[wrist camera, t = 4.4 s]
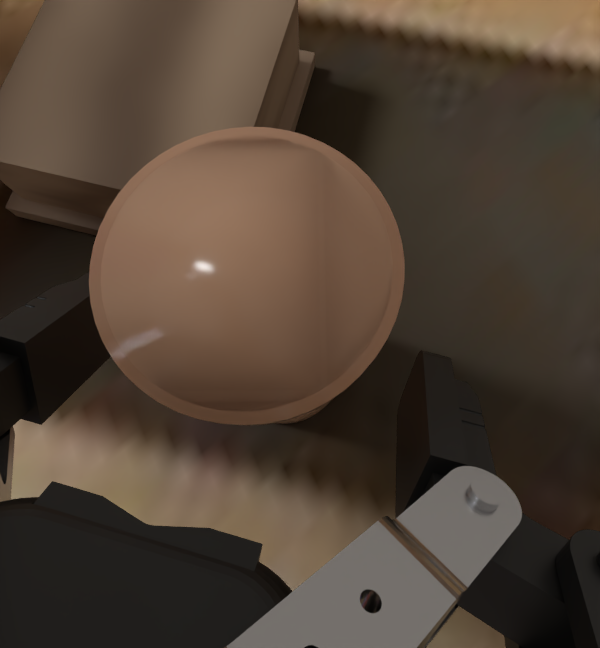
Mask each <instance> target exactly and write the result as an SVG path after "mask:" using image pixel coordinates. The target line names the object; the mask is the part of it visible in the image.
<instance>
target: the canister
mask: <svg viewBox="0 0 600 648" xmlns="http://www.w3.org/2000/svg"><path fill="white" fill-rule="evenodd" d="M404 274H405V261H404V253H403V246H402V240H401V237H400V233H399V230H398V226H397V223H396V221H395V218H394V216H393V214H392V211H391V209H390V207H389V205H388V203H387V202H386V200H385V198H384V197H383V195H382V193H381V192H380V190H379V189H378V188H377V186H376V185H375V184H374V183H373V181H372V180H371V179H370V178H369V176H368V175H367V174H366V173H365V172H363V171H362V170H361V169H360V168H359V167H358V166H357V165H356V164H355V163H354V162H353V161H351V160H350V159H349V158H347V157H346V156H344V155H343V154H342V153H340V152H339V151H337V150H335V149H334V148H332V147H330V146H328V145H326V144H325V143H323V142H321V141H318V140H316V139H313V138H311V137H308V136H306V135H302V134H299V133H295V132H292V131H288V130H282V129H276V128H269V127H239V128H229V129H224V130H218V131H213V132H209V133H206V134H203V135H200V136H196V137H193V138H191V139H189V140H187V141H184V142H182V143H180V144H177V145H175V146H174V147H172V148H170V149H168V150H167V151H165V152H163V153H162V154H160V155H158V156H157V157H156V158H154V159H153V160H152V161H150V162H149V163H148V164H146V165H145V166H144V167H143V168H142V169H141V170H140V171H139V172H137V173H136V174H135V175H134V176H133V177H132V178H131V179H130V180H129V181H128V183H127V184H126V185H125V186H124V187H123V189H122V190H121V191H120V192H119V193H118V195H117V196H116V198H115V200H114V201H113V203H112V204H111V206H110V207H109V209H108V211H107V213H106V215H105V217H104V219H103V221H102V223H101V225H100V227H99V230H98V233H97V236H96V239H95V242H94V245H93V250H92V256H91V261H90V271H89V292H90V303H91V308H92V312H93V316H94V320H95V324H96V326H97V329H98V331H99V334H100V337H101V339H102V342H103V343H104V345H105V347H106V349H107V350H108V352H109V354H110V356H111V357H112V359H113V360H114V362H115V363H116V364H117V365H118V367H119V368H120V369H121V371H122V372H123V373H124V374H125V376H127V377H128V378H129V379H130V380H131V381H132V382H133V383H134V384H135V385H136V386H137V387H138V388H139V389H140V390H142V391H143V392H144V393H146V394H147V395H149V396H150V397H151V398H153V399H154V400H156V401H157V402H159V403H161V404H163V405H164V406H166V407H168V408H170V409H172V410H174V411H176V412H179V413H181V414H184V415H187V416H190V417H193V418H196V419H199V420H204V421H209V422H214V423H219V424H231V425H247V426H250V425H264V424H272V423H279V424H287V423H295V422H299V421H302V420H305V419H308V418H310V417H312V416H314V415H315V414H317V413H318V412H319V411H321V410H322V409H323V408H324V407H325V406H326V405H327V404H328V403H329V402H330V401H331V400H332V399H334V398H335V397H337V396H338V395H340V394H341V393H343V392H344V391H345V390H346V389H347V388H348V387H349V386H350V385H351V384H352V383H354V382H355V381H356V380H357V379H358V378H359V377H360V375H361V374H362V373H363V372H364V371H365V370H366V368H367V367H368V366H369V365H370V364H371V362H372V361H373V360H374V359H375V358H376V356H377V355H378V353H379V351H380V350H381V348H382V347H383V345H384V344H385V342H386V340H387V339H388V336H389V334H390V332H391V330H392V328H393V325H394V323H395V321H396V318H397V314H398V311H399V308H400V304H401V301H402V294H403V287H404Z"/></svg>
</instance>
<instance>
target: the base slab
mask: <svg viewBox="0 0 600 648" xmlns="http://www.w3.org/2000/svg"><path fill="white" fill-rule="evenodd" d="M314 67H315V53H313V52H308V51H303V50H299V24H298V0H45V1H44V3H43V5H42V7H41V9H40V11H39V13H38V15H37V17H36V19H35V21H34V23H33V25H32V27H31V29H30V31H29V33H28V35H27V37H26V39H25V41H24V43H23V45H22V47H21V49H20V51H19V53H18V55H17V57H16V59H15V61H14V63H13V65H12V67H11V69H10V71H9V73H8V75H7V77H6V79H5V81H4V83H3V85H2V87H1V89H0V180H1V181H2V182H3V183H4V184H5V185H7V186H8V187H9V188H10V189H12V190H13V191H12V194H11V196H10V198H9V200H8V202H7V204H6V207H5V208H6V209H8V210H9V211H10V212H12V213H13V214H14V215H16V216H18V217H22V218H26V219H30V220H34V221H38V222H42V223H46V224H50V225H55V226H59V227H63V228H67V229H71V230H75V231H79V232H83V233H87V234H91V235H96V236H97V233H98V230H99V227H100V225H101V223H102V221H103V219H104V217H105V215H106V213H107V211H108V209H109V207H110V206H111V204H112V203H113V201H114V200H115V198H116V196H117V195H118V193H119V192H120V191H121V190H122V189H123V187H124V186H125V185H126V184H127V183H128V181H129V180H130V179H131V178H132V177H133V176H134V175H135V174H136V173H137V172H139V171H140V170H141V169H142V168H143V167H144V166H145V165H146V164H148V163H149V162H150V161H152V160H153V159H154V158H156V157H157V156H158V155H160V154H162V153H163V152H165V151H167V150H168V149H170V148H172V147H174V146H175V145H177V144H180V143H182V142H184V141H187V140H189V139H191V138H193V137H196V136H200V135H203V134H206V133H209V132H213V131H218V130H224V129H229V128H239V127H269V128H276V129H282V130H288V131H292V132H295V129H296V126H297V123H298V119H299V116H300V113H301V109H302V106H303V103H304V100H305V96H306V93H307V90H308V87H309V83H310V80H311V77H312V74H313V70H314Z"/></svg>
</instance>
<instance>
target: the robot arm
mask: <svg viewBox="0 0 600 648" xmlns="http://www.w3.org/2000/svg"><path fill="white" fill-rule="evenodd" d="M109 357H110V354H109V352H108V350H107V349H106V347H105V345H104V343H103V342H102V339H101V337H100V334H99V331H98V329H97V326H96V324H95V320H94V316H93V312H92V308H91V303H90V292H89V272H87V273H86V274H84V275H83V276H81V277H80V278H78V279H77V280H75V281H74V280H73V281H70V282H66V283H63V284H60V285H57V286H54V287H52V288H50V289H48V290H47V291H45V292H44V293H42V294H41V295H39V296H38V298H34V299H33V300H31V301H29V302H28V303H26V305H25V306H21V307H20V308H18V309H17V310H15V311H13V312H12V313H10V314H9V315H7V316H5V317H4V318H2V319H1V320H0V648H426V647H427V646H428V645H429V644H430V642H431V641H432V640H433V638H434V637H435V636H436V635H437V633H438V632H439V631H440V630H441V628H442V627H443V626H444V625H445V623H446V622H447V621H448V620H449V618H450V617H451V616H452V615H453V613H454V612H455V611H456V610H457V608H458V607H459V606H460V607H462V608H463V609H465V610H466V611H468V612H469V613H471V614H472V615H474V616H475V617H477V618H478V619H480V620H481V621H483V622H485V623H486V624H488V625H489V626H491V627H492V628H494V629H495V630H497V631H498V632H500V633H501V634H503V635H504V637H505V645H506V648H600V531H596V530H581V531H578V532H577V533H575V534H574V535H573V536H572V537H571V539H570V540H568V539H566V538H564V537H562V536H561V535H559V534H557V533H555V532H553V531H551V530H550V529H548V528H546V527H544V526H542V525H540V524H539V523H537V522H535V521H533V520H532V519H530V518H529V517H527V516H526V515H524V514H523V513H522V510H521V505H520V503H519V501H518V499H517V497H516V495H515V494H514V492H513V491H512V490H511V489H510V488H509V486H508V485H507V484H506V483H504V482H503V481H502V480H501V479H500V478H498V477H497V476H496V472H495V468H494V463H493V459H492V455H491V450H490V446H489V442H488V437H487V433H486V430H485V429H484V428H485V424H484V420H483V416H481V415H482V411H481V407H480V403H479V398H478V397H477V395H476V394H475V393H474V391H473V390H472V388H471V387H470V386H469V384H468V383H467V382H464V381H460V380H456V379H454V373H453V367H452V361H451V358H449V357H445V356H441V355H437V354H433V353H429V352H425V351H420V352H419V354H418V356H417V358H416V361H415V363H414V366H413V368H412V371H411V374H410V376H409V379H408V381H407V384H406V387H405V389H404V392H403V394H402V397H401V400H400V404H399V408H398V414H397V453H396V518H395V519H394V520H391V519H390V518H389V517H388V516H386V517H383V518H381V519H380V520H378V521H377V522H376V523H374V524H373V525H372V526H371V527H370V528H368V529H367V530H366V531H365V532H364V533H362V534H361V535H360V536H359V537H358V538H356V539H355V540H354V541H353V542H352V543H350V544H349V545H348V546H347V547H346V548H344V549H343V550H342V551H341V552H340V553H338V554H337V555H336V556H335V557H334V558H332V559H331V560H330V561H329V562H328V563H326V564H325V565H324V566H323V567H322V568H320V569H319V570H318V571H317V572H316V573H314V574H313V575H312V576H311V577H310V578H308V579H307V580H306V581H305V582H304V583H302V584H301V585H300V586H299V587H298V588H296V589H295V590H294V591H293V592H292V590H291V589H290V588H289V587H288V586H287V585H286V583H285V582H284V581H283V580H282V579H281V578H280V577H279V576H278V575H276V574H275V573H274V572H273V571H272V570H270V569H269V568H268V567H266V566H265V565H263V564H262V563H260V562H259V558H260V553H261V549H262V544H261V543H257V542H254V541H251V540H247V539H244V538H241V537H237V536H234V535H231V534H227V533H224V532H221V531H217V530H214V529H210V528H195V527H171V526H152V525H148V524H145V523H143V522H142V521H140V520H138V519H137V518H135V517H134V516H132V515H131V514H129V513H128V512H126V511H125V510H123V509H121V508H120V507H118V506H117V505H115V504H114V503H112V502H111V501H109V500H108V499H106V498H104V497H103V496H100V495H97V494H93V493H90V492H87V491H83V490H80V489H77V488H73V487H70V486H67V485H63V484H60V483H57V482H53V481H52V482H51V484H50V485H49V486H48V487H47V488H46V489H45V491H44V492H43V493H42V494H41V495H40V497H32V498H19V499H13V500H11V489H12V473H13V456H14V440H15V432H14V428H13V425H14V424H15V423H16V422H17V421H19V420H20V419H24V420H27V421H30V422H34V423H37V424H41V425H42V424H43V423H44V422H45V421H46V420H47V419H48V418H49V417H50V416H51V415H52V414H53V413H54V412H55V411H56V410H57V409H58V408H59V407H60V406H61V405H62V404H63V403H64V402H65V401H66V400H67V399H68V398H69V397H70V396H71V395H72V394H73V393H74V392H75V391H76V390H77V389H78V388H79V387H80V386H81V385H82V384H83V383H84V382H85V381H86V380H87V379H88V378H89V377H90V376H91V375H92V374H93V373H94V372H95V371H96V370H97V369H98V368H99V367H100V366H101V365H102V364H103V363H104V362H105V361H106V360H107V359H108V358H109Z"/></svg>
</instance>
